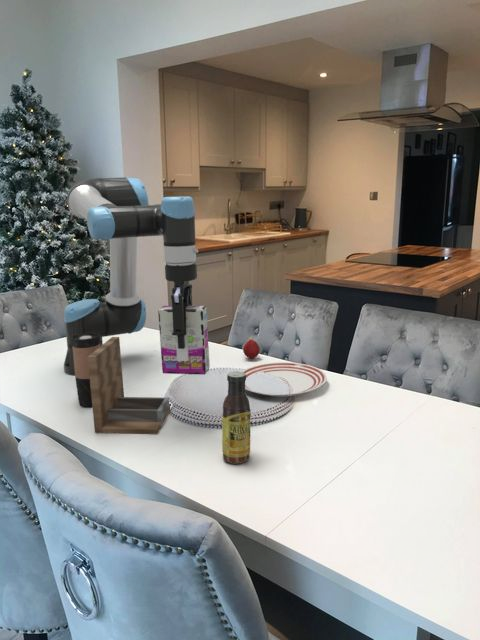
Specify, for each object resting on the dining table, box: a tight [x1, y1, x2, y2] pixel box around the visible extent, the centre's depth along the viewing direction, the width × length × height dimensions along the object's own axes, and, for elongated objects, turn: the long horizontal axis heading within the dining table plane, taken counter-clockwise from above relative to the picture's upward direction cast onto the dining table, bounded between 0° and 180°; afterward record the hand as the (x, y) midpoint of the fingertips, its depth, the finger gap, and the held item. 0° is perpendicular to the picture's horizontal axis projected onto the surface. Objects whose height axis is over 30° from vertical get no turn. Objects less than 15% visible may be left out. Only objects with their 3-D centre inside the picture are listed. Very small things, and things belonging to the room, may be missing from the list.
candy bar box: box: [157, 305, 210, 375], centre depth 129 cm, size 11×5×16 cm, turn 81°
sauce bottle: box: [221, 370, 252, 465], centre depth 115 cm, size 6×6×20 cm
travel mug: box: [72, 333, 100, 409], centre depth 149 cm, size 8×8×20 cm
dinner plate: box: [241, 361, 327, 397], centre depth 161 cm, size 27×27×3 cm
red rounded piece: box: [242, 337, 261, 361], centre depth 186 cm, size 6×6×8 cm
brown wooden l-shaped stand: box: [88, 336, 171, 435], centre depth 137 cm, size 18×16×20 cm
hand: (185, 356), depth 130 cm, fingers closed on candy bar box, 5 cm apart
